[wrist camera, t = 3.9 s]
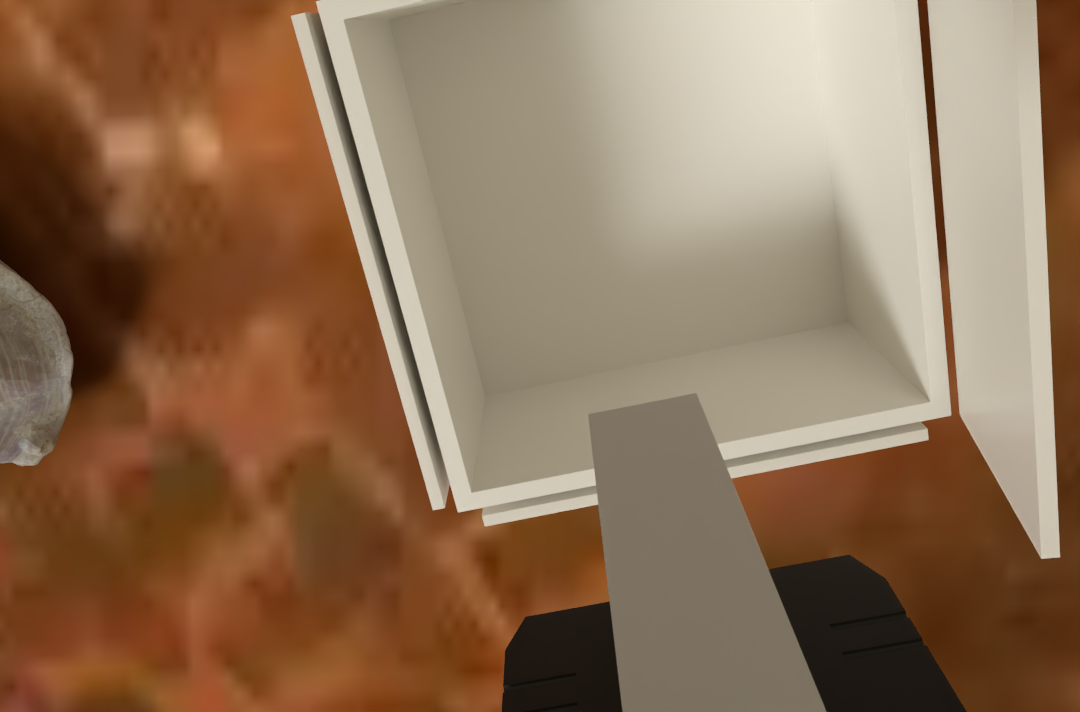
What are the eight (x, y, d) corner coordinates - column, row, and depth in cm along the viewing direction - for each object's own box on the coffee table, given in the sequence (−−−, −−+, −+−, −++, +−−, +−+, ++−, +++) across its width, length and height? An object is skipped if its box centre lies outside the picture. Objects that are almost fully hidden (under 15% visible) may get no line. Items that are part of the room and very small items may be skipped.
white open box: (461, 428, 40) (440, 538, 31) (343, -12, 34) (278, -23, 26) (861, 346, 39) (953, 438, 30) (809, -123, 33) (903, -172, 25)
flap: (1041, 558, 22) (1060, 557, 22) (1003, -184, 17) (1028, -190, 17) (960, 415, 29) (973, 413, 29) (916, -134, 24) (932, -138, 24)
